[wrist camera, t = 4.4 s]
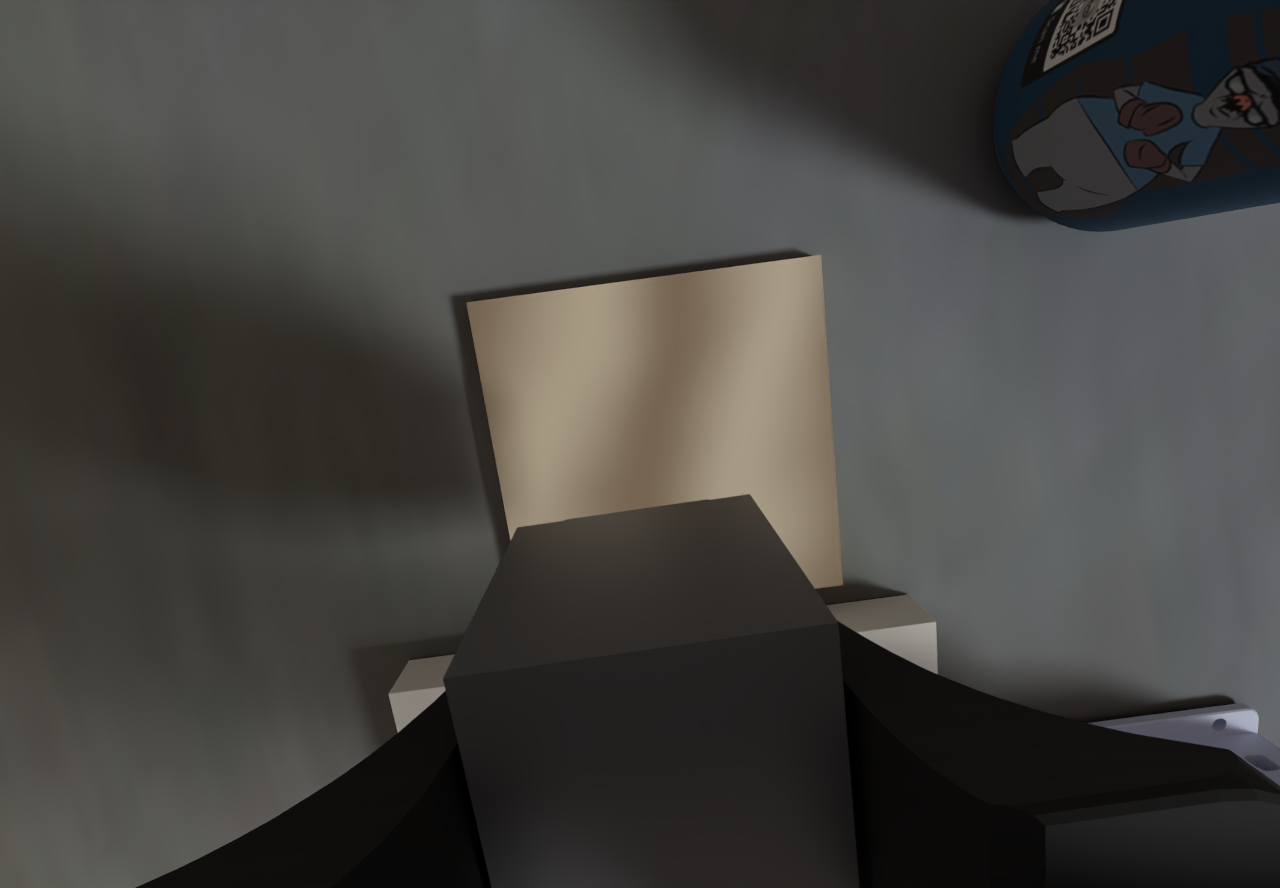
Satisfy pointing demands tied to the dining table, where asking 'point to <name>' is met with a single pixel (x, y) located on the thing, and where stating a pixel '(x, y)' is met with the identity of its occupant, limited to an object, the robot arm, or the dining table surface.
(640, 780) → the block
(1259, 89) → the soda can
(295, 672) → the dining table surface
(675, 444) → the pad
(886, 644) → the white slotted block
